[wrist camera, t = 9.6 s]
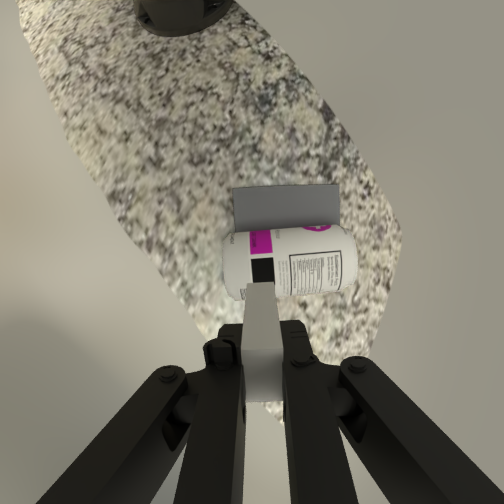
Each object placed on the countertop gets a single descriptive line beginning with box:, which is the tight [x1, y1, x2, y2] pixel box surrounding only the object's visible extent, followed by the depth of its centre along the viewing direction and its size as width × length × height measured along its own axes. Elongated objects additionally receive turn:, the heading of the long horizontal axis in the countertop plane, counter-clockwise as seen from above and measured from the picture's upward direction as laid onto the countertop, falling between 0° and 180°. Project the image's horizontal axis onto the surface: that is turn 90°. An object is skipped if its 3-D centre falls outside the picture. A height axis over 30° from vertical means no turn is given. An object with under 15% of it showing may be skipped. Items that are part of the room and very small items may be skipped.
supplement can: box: [222, 225, 358, 301], centre depth 34 cm, size 8×8×15 cm
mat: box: [233, 184, 340, 233], centre depth 38 cm, size 13×14×1 cm
